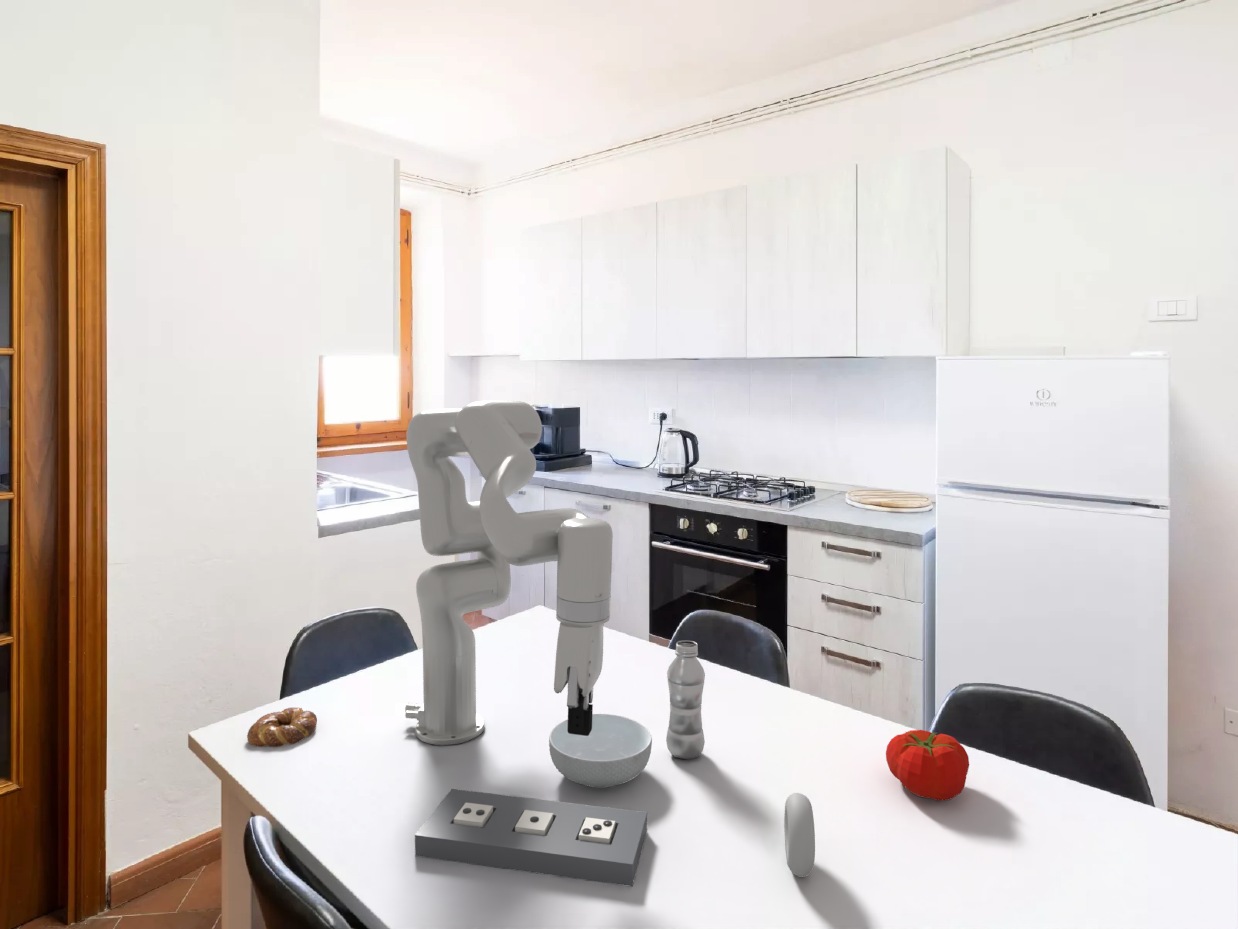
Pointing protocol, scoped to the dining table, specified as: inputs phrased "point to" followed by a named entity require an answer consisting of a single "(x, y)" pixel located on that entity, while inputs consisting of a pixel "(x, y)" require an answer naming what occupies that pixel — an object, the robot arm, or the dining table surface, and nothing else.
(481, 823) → the button two dots
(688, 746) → the plastic bottle
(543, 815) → the button one dot
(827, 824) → the dining table surface
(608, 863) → the button panel
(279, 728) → the pretzel
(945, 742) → the tomato
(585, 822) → the button three dots
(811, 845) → the donut
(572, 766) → the cereal bowl
